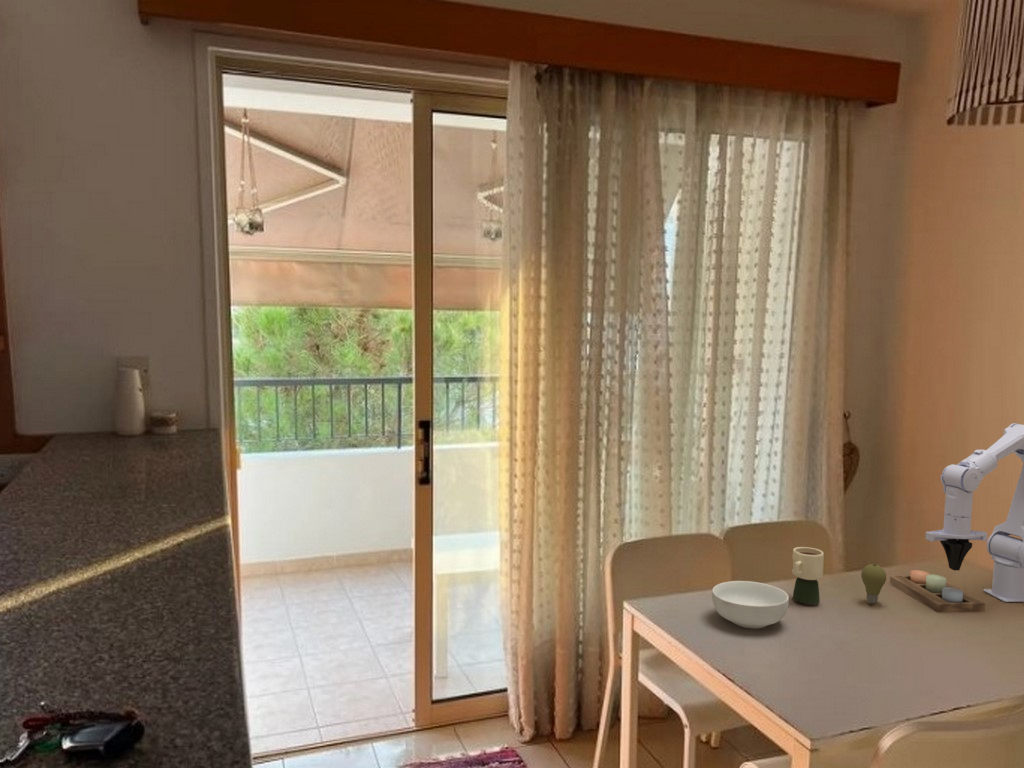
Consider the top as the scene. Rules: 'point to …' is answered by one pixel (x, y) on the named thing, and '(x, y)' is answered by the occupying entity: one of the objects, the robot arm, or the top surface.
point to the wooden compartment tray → (936, 597)
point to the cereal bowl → (750, 603)
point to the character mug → (807, 574)
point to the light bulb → (873, 581)
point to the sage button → (935, 583)
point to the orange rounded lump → (918, 576)
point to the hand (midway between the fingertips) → (954, 569)
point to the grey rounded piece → (952, 595)
